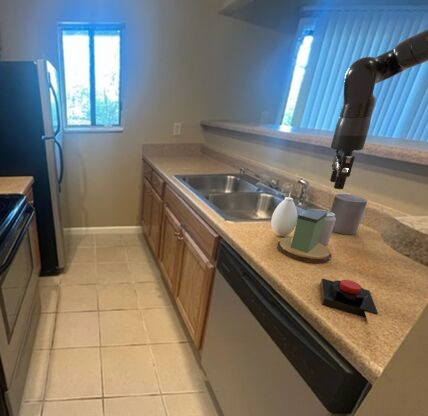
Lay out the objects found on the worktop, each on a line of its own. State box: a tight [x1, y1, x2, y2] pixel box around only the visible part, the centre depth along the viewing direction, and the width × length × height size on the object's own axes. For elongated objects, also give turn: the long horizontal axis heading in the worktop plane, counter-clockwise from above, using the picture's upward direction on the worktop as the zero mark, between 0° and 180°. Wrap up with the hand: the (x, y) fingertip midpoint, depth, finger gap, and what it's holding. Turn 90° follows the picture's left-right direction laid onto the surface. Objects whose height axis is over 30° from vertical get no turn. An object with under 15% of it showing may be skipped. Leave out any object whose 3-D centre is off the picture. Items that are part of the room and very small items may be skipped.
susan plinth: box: [276, 240, 332, 265], centre depth 94 cm, size 15×15×2 cm
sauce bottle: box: [270, 190, 298, 237], centre depth 104 cm, size 8×8×18 cm
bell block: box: [319, 278, 379, 319], centre depth 71 cm, size 10×10×4 cm
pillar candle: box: [329, 193, 369, 236], centre depth 108 cm, size 10×10×15 cm
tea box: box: [279, 208, 331, 259], centre depth 92 cm, size 14×14×13 cm
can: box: [317, 209, 336, 246], centre depth 99 cm, size 8×8×12 cm
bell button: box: [339, 279, 362, 294], centre depth 70 cm, size 4×4×2 cm
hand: (336, 185), depth 87 cm, fingers open, 8 cm apart
